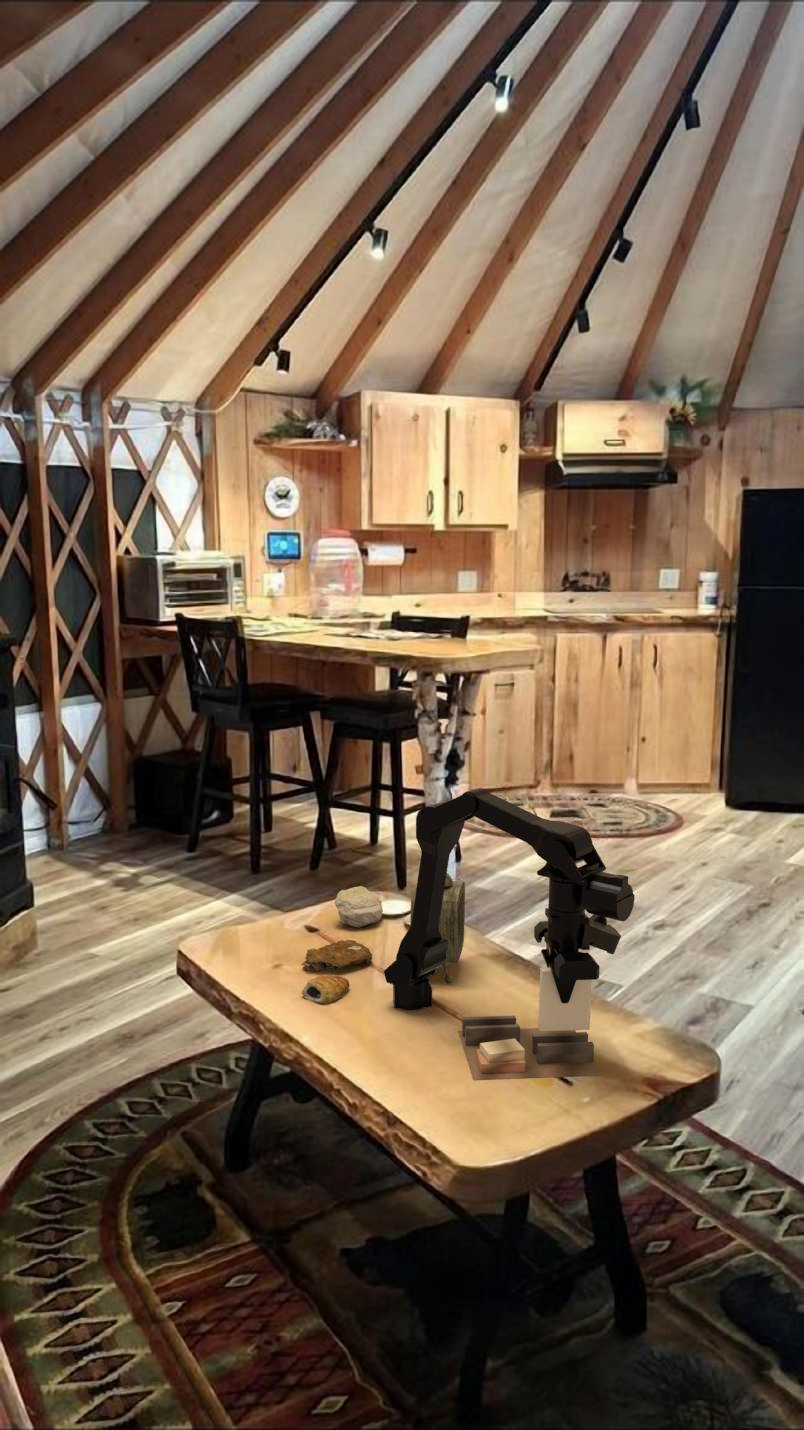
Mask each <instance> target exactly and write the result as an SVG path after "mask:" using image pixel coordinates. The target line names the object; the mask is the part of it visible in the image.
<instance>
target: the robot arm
mask: <svg viewBox="0 0 804 1430" xmlns="http://www.w3.org/2000/svg"><path fill="white" fill-rule="evenodd" d="M473 818H477V819H478V820H481V821H483V822H485V823H486V824H489V825H490V826H493V827H494V828H496V829H499V830H500V831H503V832H505V833H507V834H508V835H511V836H513V837H514V838H517V839H519V840H520V841H523V842H525V843H526V844H527V845H528V846H530V847H532V849H533V850H534V852H535V853H536V855H537V856H538V857H539V858H541V859H542V860H543V861H545V862H546V863H545V865H544V866H542V867H541V868H540V869H538V870H537V872H536V875H537V876H540V877H544V878H548V880H549V881H548V904H547V905H548V907H545V908H544V912H545V913H544V914H545V916H546V918H547V920H546V921H545V920H544V921H542V920H540V921H539V922H538V923H536V925H535V926H534V932H533V933H534V934H533V938H534V940H535V941H536V943H537V944H540V943H542V940H543V939H544V942H545V944H546V945H545V948H543V949H541V950H540V952H541V955H542V957H543V960H544V962H545V965H546V967H550V970H551V973H552V976H553V979H554V982H555V985H556V988H557V991H558V994H559V997H560V1000H561V1002H562V1003H569V1000H570V997H571V994H572V991H573V988H574V986H575V983H576V980H592V981H593V980H594V981H596V980H598V979H600V965H599V964H598V961H596V960H595V958H594V957H593V956H592V955H591V954H590V953H589V952H583V951H589V950H591V949H590V948H591V947H593V948H595V949H599V950H602V951H605V952H606V953H607V954H610V955H614V954H615V953H616V951H617V948H618V945H619V943H620V940H621V938H622V935H621V933H619V931H618V930H617V929H616V928H614V927H613V926H612V924H608V919H611V920H614V921H618V922H625V921H627V920H628V919H629V918H630V917H631V914H632V912H633V908H634V906H635V905H634V904H635V893H634V890H633V887H632V885H631V884H629V876H628V875H625V874H614V873H609V872H605V871H606V870H607V867H606V865H605V863H604V862H603V860H602V858H601V856H600V855H599V853H598V850H597V848H596V847H595V846H594V844H593V839H592V837H591V834H590V832H589V831H588V829H586V828H584V827H583V826H579V825H576V824H572V823H569V822H566V821H557V820H550V819H546V818H542V817H540V816H538V815H536V814H534V813H532V812H530V811H528V810H527V809H524V808H523V807H520V806H518V805H516V804H514V803H512V802H509V801H508V800H505V799H503V798H501V797H499V796H497V795H494V794H493V793H491V792H490V791H489V790H487V789H486V788H482V787H478V788H476V789H471V790H467V791H464V792H463V793H462V794H461V795H459V796H457V797H455V798H452V799H450V800H445V801H441V802H438V803H434V804H431V805H427V806H424V807H422V808H421V809H420V810H418V811H417V813H416V816H415V839H416V841H417V844H418V845H419V849H420V850H421V852H420V853H421V854H420V860H419V861H420V862H419V868H418V872H417V873H418V874H417V875H418V876H417V882H416V886H415V889H416V894H415V901H414V908H413V915H412V921H411V926H409V928H408V930H407V931H406V933H405V934H404V936H403V938H402V939H401V941H400V944H399V947H398V949H397V950H398V951H397V954H396V957H395V960H394V961H393V962H392V963H391V964H390V965H389V966H388V967H386V969H384V970H383V974H384V978H385V982H386V983H387V984H390V985H392V1003H393V1008H394V1009H400V1010H402V1011H419V1010H422V1009H425V1008H429V1007H430V1008H431V1007H432V1006H433V987H432V984H431V983H430V980H429V978H431V977H432V976H435V975H436V973H437V972H438V971H437V970H438V968H439V967H442V966H441V965H442V963H443V961H444V960H446V959H447V958H446V949H447V946H448V940H447V939H444V938H442V936H441V934H440V931H439V920H440V914H441V907H442V901H443V894H444V888H445V881H446V874H447V873H448V868H449V860H450V855H451V853H452V851H453V850H454V848H455V846H456V845H457V843H458V842H459V840H460V838H461V835H462V832H463V829H464V825H465V822H467V821H470V820H471V819H473ZM582 862H584V863H585V864H584V865H580V866H577V865H578V864H579V863H582ZM585 912H587V913H588V914H591V916H590V917H589V916H588V915H587V914H586V913H585ZM579 950H582V951H579Z"/></svg>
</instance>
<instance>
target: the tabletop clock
mask: <svg viewBox="0 0 804 1430" xmlns="http://www.w3.org/2000/svg"><path fill="white" fill-rule="evenodd" d="M465 883H466V882H465V881H460V880H459V881H458V880H453V878H452V877H451V874H449V872H447V874H446V881H445V888H444V894H443V901H442V907H441V914H440V920H439V931H440V934H441V936H442V938H444V939H447V940H448V946H447V949H446V958H447V959H446V960H444V961H443V963H442V965H441V966H440V967H441V969H442V971H443V973H444V976H443V981H444V982H445V984H450V983H451V982H452V981H453V978H452V977H453V976H452V975H450V974H449V972H448V970H447V965H446V964H458V963H459V961H460V959H461V956H462V951H463V947H464V943H465V942H464V941H465V923H466V922H465V921H466V920H465V914H466V910H465V909H466V907H465V906H466V884H465ZM415 894H416V888H414V891H413V893H412V897H411V901H410V917H409V919H410V921H409V922H410V926H411V921H412V915H413V908H414V901H415ZM410 926H409V927H410Z"/></svg>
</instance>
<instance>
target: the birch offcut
mask: <svg viewBox="0 0 804 1430" xmlns="http://www.w3.org/2000/svg"><path fill="white" fill-rule="evenodd" d="M480 1053H481V1054H482V1055H483V1057H484V1058H485V1059H486V1060H487V1062H488V1063H489V1064H490V1063H497V1062H504V1061H511V1060H518V1059H525V1049H524V1048H523V1047H522V1046H521V1045H520V1044H519V1043H518V1042H517V1040H516V1039H507V1040H500V1041H493V1042H485V1043H480Z"/></svg>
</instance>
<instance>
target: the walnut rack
mask: <svg viewBox="0 0 804 1430" xmlns="http://www.w3.org/2000/svg"><path fill="white" fill-rule="evenodd" d="M461 1020H462V1021H461V1024H462V1025H461V1030H457V1032H458V1035H459V1039H460V1042H461V1045H462V1049H463V1052H464V1055H465V1057H466V1061H467V1065H468V1068H469V1071H470V1074H471V1077H472V1080H473V1081H488V1080H489V1081H491V1080H494V1081H495V1080H517V1079H518V1080H519V1079H523V1080H524V1079H544V1078H545V1079H546V1078H574V1077H600V1076H602V1075H601V1073H600V1071H599V1070H598V1068H597V1066H596V1065H595V1062H594V1056H595V1055H594V1054H595V1053H594V1052H595V1051H594V1050H595V1049H594V1048H595V1045H594V1044H595V1043H594V1042H593V1041H589V1034H588V1032H587V1031H582V1032H581V1031H579V1032H577V1030H564V1031H540V1029H539V1027H534V1028H533V1027H532V1028H531V1027H530V1028H529V1027H528V1028H521V1026H520V1024H518V1023H517V1016H516V1015H495V1016H494V1015H493V1016H489V1015H487V1016H463V1017H462V1018H461ZM507 1039H516V1040H517V1042H518V1043H519V1044H520V1045H521V1046H522V1047H523V1048H524V1049H525V1059H524V1061H525V1072H505V1073H481V1072H480V1069H479V1066H478V1063H477V1060H476V1049H480V1043H485V1042H493V1041H500V1040H507Z"/></svg>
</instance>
